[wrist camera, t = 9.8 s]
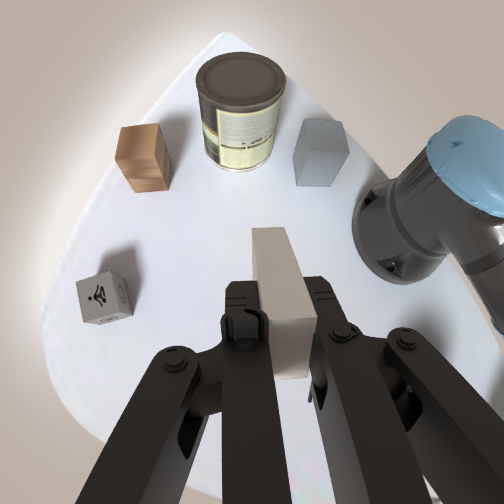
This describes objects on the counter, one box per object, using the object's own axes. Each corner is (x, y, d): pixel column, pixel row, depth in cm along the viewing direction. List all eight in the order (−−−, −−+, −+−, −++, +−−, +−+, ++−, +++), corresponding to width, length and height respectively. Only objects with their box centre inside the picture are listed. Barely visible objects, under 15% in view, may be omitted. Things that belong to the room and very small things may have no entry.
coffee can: (190, 154, 43) (177, 87, 30) (228, 110, 46) (227, 43, 32) (250, 185, 42) (258, 120, 29) (284, 136, 45) (300, 70, 31)
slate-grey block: (324, 157, 44) (341, 121, 36) (329, 186, 43) (349, 152, 34) (292, 157, 44) (304, 119, 35) (296, 186, 43) (310, 150, 34)
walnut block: (170, 160, 43) (158, 122, 34) (168, 190, 41) (154, 155, 33) (138, 163, 43) (121, 127, 34) (135, 192, 41) (114, 159, 33)
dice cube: (133, 315, 37) (119, 312, 32) (100, 324, 36) (83, 322, 31) (124, 278, 38) (110, 270, 33) (92, 288, 37) (75, 281, 32)
